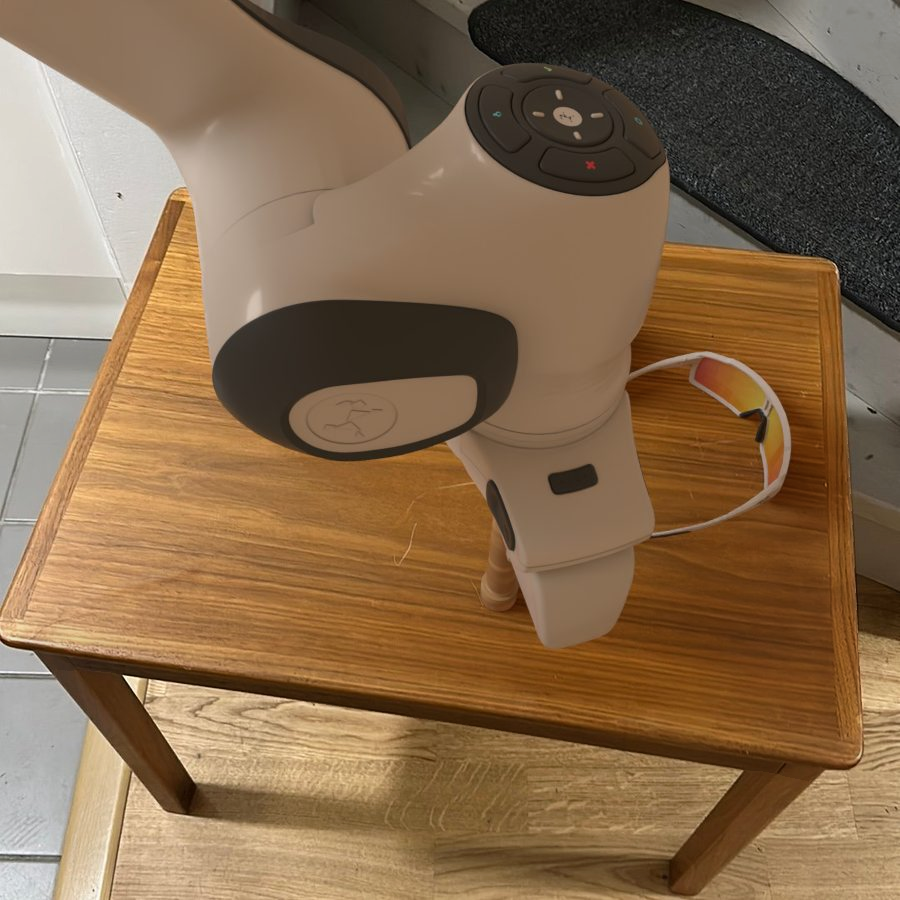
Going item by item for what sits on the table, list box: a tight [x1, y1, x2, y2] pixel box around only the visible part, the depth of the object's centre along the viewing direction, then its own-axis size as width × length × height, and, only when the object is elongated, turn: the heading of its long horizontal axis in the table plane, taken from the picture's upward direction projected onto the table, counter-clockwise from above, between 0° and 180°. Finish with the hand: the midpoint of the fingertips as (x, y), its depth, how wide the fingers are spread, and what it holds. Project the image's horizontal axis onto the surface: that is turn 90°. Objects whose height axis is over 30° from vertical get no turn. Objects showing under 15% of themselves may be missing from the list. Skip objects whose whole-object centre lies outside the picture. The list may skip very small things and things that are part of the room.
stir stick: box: [479, 515, 520, 613], centre depth 57 cm, size 3×3×20 cm
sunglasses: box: [626, 351, 792, 540], centre depth 70 cm, size 14×15×5 cm
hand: (508, 523), depth 56 cm, fingers closed
